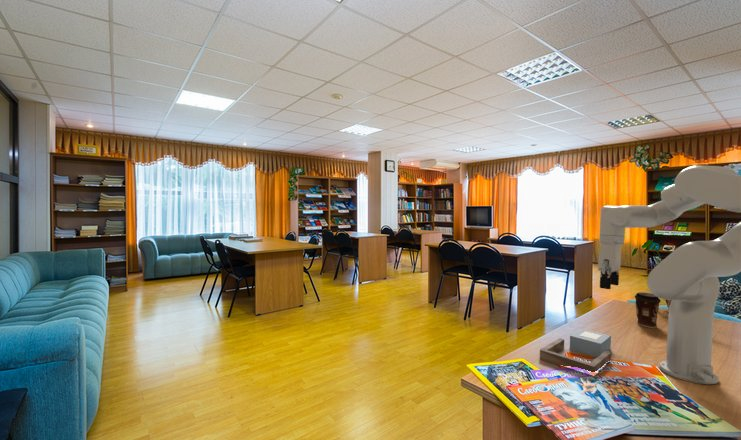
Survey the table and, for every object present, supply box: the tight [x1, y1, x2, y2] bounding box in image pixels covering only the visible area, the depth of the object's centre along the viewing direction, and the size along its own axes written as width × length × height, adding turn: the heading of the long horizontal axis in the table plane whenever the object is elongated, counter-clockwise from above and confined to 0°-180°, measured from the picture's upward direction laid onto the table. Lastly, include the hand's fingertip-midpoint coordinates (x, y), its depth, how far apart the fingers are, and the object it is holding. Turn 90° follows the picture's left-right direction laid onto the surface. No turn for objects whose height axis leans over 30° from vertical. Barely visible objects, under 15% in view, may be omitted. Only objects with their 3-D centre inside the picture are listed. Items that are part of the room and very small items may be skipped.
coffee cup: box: [634, 291, 661, 329], centre depth 143 cm, size 9×8×13 cm
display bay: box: [539, 337, 612, 372], centre depth 108 cm, size 16×15×3 cm
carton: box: [569, 328, 612, 358], centre depth 117 cm, size 11×9×5 cm
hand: (609, 286), depth 126 cm, fingers open, 9 cm apart
